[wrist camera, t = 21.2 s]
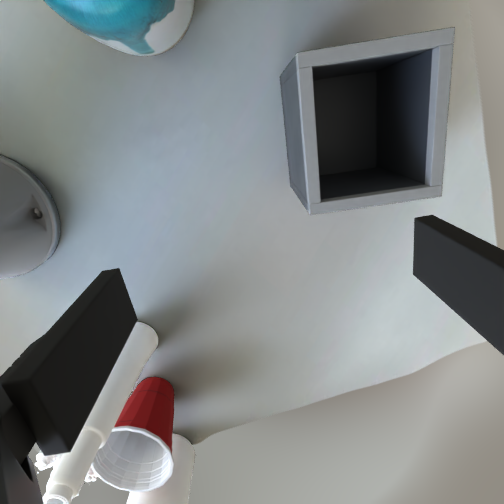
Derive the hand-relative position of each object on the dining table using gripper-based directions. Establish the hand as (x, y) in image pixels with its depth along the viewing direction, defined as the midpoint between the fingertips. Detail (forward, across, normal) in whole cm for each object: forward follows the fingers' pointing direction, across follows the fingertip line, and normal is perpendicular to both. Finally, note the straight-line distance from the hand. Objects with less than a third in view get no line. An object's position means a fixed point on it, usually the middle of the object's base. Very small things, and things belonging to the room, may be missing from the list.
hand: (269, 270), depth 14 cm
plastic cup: (+27, -20, -30) cm, 45 cm away
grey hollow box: (+20, +10, -2) cm, 22 cm away
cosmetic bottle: (+27, -20, -20) cm, 39 cm away
